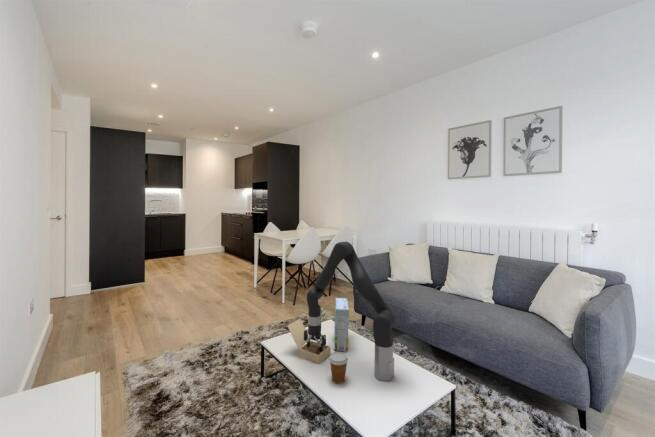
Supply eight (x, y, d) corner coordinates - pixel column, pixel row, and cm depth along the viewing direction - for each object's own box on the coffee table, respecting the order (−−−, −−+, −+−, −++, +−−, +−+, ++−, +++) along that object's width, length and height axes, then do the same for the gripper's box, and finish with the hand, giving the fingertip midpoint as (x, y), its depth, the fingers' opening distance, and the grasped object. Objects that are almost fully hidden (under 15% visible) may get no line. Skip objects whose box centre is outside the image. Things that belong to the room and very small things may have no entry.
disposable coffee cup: (332, 386, 147) (332, 362, 146) (326, 375, 156) (326, 353, 156) (350, 383, 150) (350, 360, 149) (344, 372, 159) (344, 350, 158)
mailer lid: (300, 318, 188) (299, 318, 188) (287, 325, 178) (287, 325, 178) (310, 339, 184) (310, 339, 184) (298, 347, 174) (298, 348, 174)
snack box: (349, 351, 180) (349, 309, 179) (334, 351, 181) (334, 309, 179) (347, 335, 202) (347, 297, 200) (334, 335, 202) (334, 297, 201)
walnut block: (315, 358, 172) (315, 349, 172) (308, 355, 175) (308, 347, 175) (320, 354, 176) (320, 346, 176) (313, 352, 179) (313, 343, 179)
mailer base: (330, 354, 177) (330, 346, 177) (318, 364, 167) (318, 355, 166) (311, 348, 184) (311, 340, 184) (298, 357, 174) (298, 348, 174)
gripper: (328, 323, 174) (328, 350, 175) (308, 317, 181) (308, 344, 182) (321, 327, 167) (321, 356, 168) (300, 322, 175) (301, 349, 176)
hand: (314, 350), depth 175 cm, fingers open, 8 cm apart
